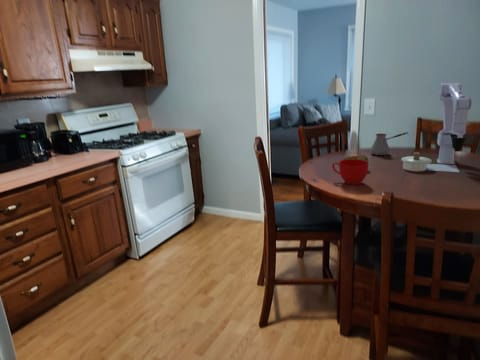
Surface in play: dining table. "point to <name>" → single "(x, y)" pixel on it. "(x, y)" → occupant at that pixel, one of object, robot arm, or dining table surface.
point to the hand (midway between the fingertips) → (455, 149)
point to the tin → (357, 157)
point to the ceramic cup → (352, 170)
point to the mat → (442, 167)
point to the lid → (416, 159)
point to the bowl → (414, 167)
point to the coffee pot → (382, 144)
